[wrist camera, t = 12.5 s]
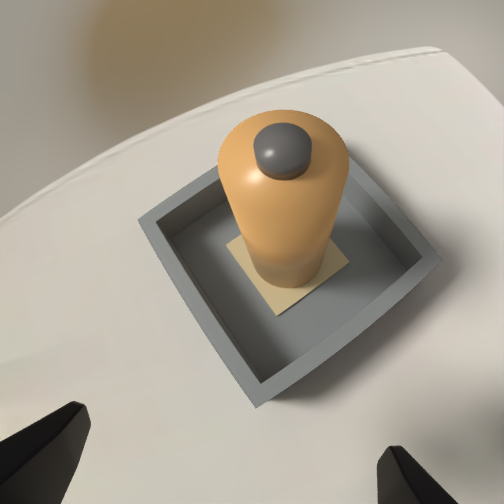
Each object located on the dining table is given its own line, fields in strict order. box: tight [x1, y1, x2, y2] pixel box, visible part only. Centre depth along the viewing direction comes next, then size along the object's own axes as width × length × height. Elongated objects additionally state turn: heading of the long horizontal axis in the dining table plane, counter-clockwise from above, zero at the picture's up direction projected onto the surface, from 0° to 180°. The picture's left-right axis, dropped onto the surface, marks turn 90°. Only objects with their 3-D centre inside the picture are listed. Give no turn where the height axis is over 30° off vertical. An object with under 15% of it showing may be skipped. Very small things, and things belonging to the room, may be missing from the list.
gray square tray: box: [138, 156, 442, 408], centre depth 21 cm, size 14×14×4 cm
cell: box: [218, 110, 349, 288], centre depth 16 cm, size 5×5×12 cm
